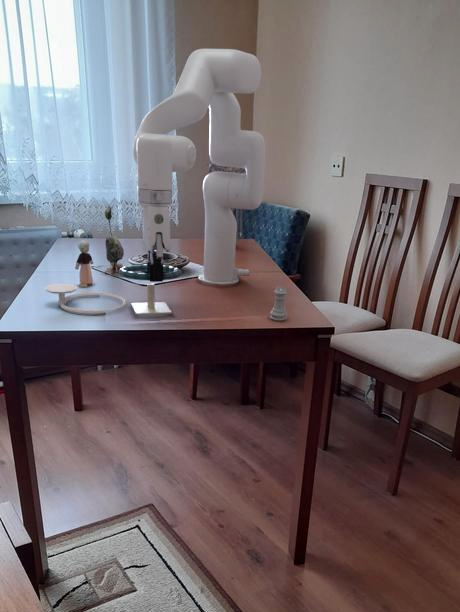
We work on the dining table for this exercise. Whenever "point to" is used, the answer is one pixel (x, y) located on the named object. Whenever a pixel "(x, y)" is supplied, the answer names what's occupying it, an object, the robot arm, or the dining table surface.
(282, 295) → the rook chess piece
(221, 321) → the dining table surface
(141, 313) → the post
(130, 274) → the ring
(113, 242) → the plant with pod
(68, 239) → the dining table surface
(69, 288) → the hand towel holder
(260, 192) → the robot arm
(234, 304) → the dining table surface
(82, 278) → the grandmother figurine
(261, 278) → the dining table surface
